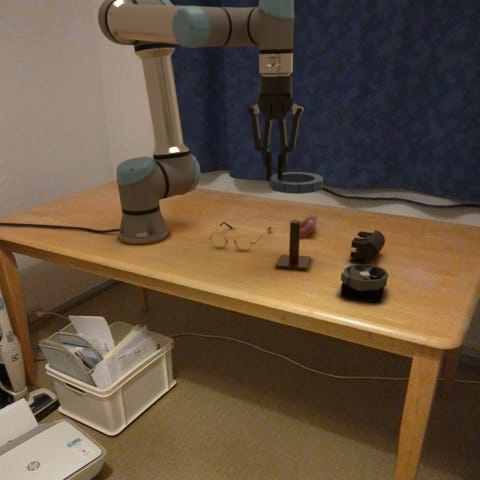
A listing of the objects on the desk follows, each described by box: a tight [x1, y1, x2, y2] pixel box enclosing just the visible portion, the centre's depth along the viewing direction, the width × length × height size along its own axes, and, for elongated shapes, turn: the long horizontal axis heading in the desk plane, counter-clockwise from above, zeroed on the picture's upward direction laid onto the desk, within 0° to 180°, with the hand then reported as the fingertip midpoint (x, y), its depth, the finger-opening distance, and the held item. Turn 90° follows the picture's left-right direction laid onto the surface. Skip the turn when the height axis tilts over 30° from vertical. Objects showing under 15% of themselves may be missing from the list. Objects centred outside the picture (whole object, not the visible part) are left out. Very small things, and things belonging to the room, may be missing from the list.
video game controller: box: [300, 213, 319, 239], centre depth 150 cm, size 10×5×7 cm, turn 168°
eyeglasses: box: [208, 221, 272, 252], centre depth 147 cm, size 16×19×5 cm
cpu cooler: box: [340, 263, 389, 303], centre depth 113 cm, size 10×6×10 cm
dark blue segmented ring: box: [268, 171, 324, 195], centre depth 120 cm, size 13×13×2 cm
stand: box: [276, 219, 312, 272], centre depth 128 cm, size 8×8×12 cm
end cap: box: [349, 229, 386, 265], centre depth 131 cm, size 10×7×7 cm
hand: (274, 179), depth 121 cm, fingers closed on dark blue segmented ring, 2 cm apart
